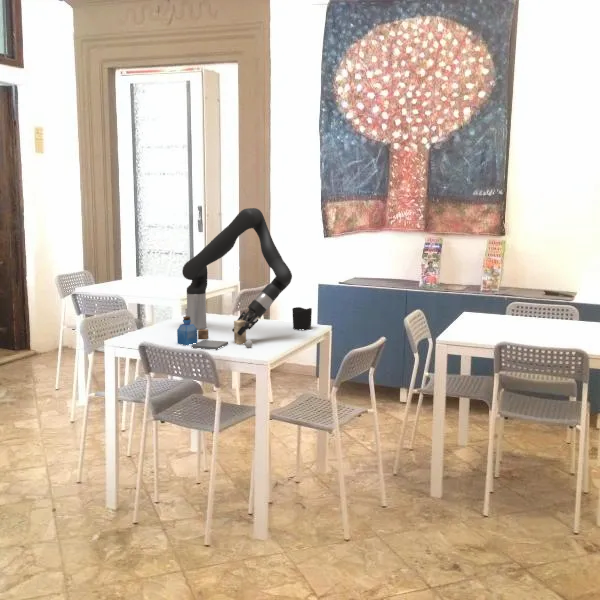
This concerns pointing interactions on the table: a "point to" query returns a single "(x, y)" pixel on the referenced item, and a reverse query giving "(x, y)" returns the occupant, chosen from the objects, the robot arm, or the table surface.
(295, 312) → the pen holder
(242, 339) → the mottled tan cylinder
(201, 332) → the walnut cube
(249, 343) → the grey ball
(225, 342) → the trivet
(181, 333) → the perfume bottle
